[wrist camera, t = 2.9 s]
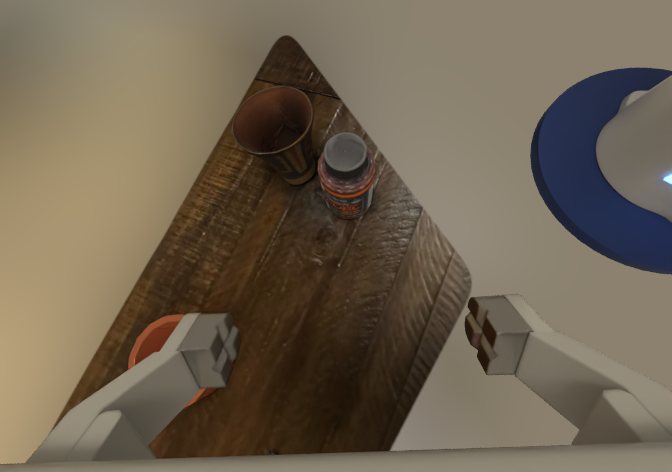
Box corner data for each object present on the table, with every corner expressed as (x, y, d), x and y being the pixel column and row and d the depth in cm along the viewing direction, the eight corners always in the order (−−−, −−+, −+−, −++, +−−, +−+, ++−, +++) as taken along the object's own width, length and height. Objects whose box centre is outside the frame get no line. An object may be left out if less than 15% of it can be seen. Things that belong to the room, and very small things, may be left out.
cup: (280, 127, 39) (254, 68, 30) (336, 149, 38) (328, 94, 28) (249, 179, 38) (211, 134, 28) (306, 204, 36) (286, 165, 26)
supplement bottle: (324, 219, 35) (307, 179, 24) (328, 177, 37) (314, 121, 26) (371, 222, 35) (375, 182, 24) (374, 178, 36) (379, 122, 25)
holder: (234, 310, 33) (215, 310, 29) (234, 395, 31) (213, 409, 26) (161, 318, 34) (132, 319, 29) (156, 401, 31) (123, 416, 27)
